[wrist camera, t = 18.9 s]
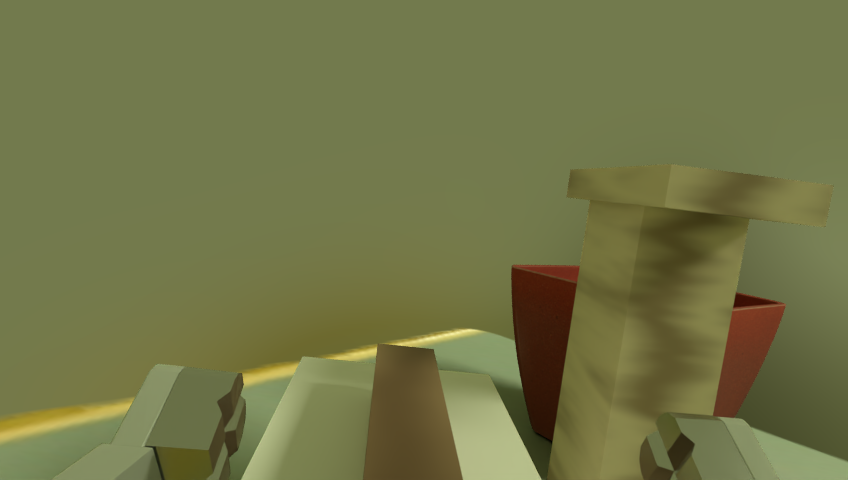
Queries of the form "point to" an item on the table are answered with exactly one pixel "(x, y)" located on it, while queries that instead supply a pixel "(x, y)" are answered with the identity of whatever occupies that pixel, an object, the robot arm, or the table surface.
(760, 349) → the plant pot
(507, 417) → the white rectangular block
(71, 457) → the table surface
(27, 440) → the table surface
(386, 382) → the walnut bar
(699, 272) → the wooden i-beam pillar
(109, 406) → the table surface
